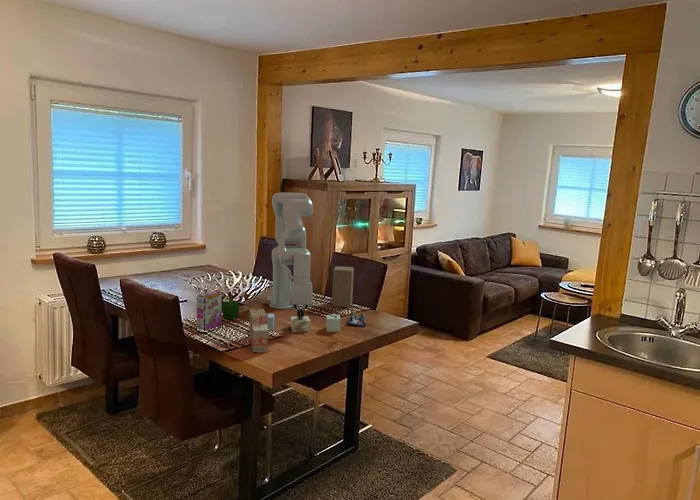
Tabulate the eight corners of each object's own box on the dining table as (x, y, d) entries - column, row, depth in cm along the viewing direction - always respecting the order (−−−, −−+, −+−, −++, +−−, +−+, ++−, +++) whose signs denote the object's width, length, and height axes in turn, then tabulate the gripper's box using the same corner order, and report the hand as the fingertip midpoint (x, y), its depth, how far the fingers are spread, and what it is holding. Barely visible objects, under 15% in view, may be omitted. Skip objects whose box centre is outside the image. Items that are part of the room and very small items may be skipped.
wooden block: (352, 303, 295) (353, 267, 292) (350, 307, 285) (352, 270, 282) (334, 301, 296) (335, 265, 293) (331, 306, 286) (333, 269, 283)
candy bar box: (204, 333, 233) (204, 296, 230) (195, 331, 235) (195, 295, 233) (222, 327, 243) (222, 291, 240) (213, 325, 245) (213, 290, 243)
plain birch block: (292, 332, 241) (292, 321, 240) (290, 326, 249) (290, 316, 248) (310, 331, 243) (310, 321, 242) (307, 326, 251) (307, 316, 250)
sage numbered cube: (326, 331, 244) (327, 318, 243) (326, 327, 250) (326, 314, 249) (340, 331, 244) (340, 318, 243) (339, 327, 250) (339, 314, 249)
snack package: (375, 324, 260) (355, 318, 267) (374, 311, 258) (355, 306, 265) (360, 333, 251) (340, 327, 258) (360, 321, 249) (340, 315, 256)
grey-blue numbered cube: (259, 330, 241) (259, 316, 240) (260, 326, 247) (260, 313, 246) (273, 330, 242) (273, 317, 241) (273, 326, 248) (274, 313, 247)
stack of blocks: (268, 352, 214) (269, 322, 212) (252, 353, 213) (253, 323, 211) (263, 335, 235) (264, 308, 233) (248, 336, 233) (249, 308, 231)
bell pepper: (243, 317, 259) (243, 297, 258) (232, 321, 252) (232, 301, 250) (228, 314, 263) (229, 294, 261) (218, 318, 255) (218, 298, 254)
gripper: (284, 280, 238) (283, 320, 241) (318, 281, 239) (317, 321, 242) (285, 276, 245) (284, 315, 248) (318, 277, 246) (316, 316, 249)
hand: (300, 318), depth 245 cm, fingers closed
